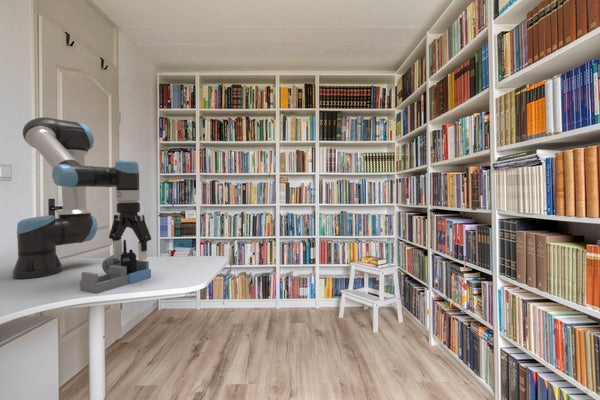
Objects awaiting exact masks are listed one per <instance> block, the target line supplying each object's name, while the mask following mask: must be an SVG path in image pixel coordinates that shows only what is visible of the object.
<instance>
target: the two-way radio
mask: <svg viewBox="0 0 600 400" xmlns="http://www.w3.org/2000/svg"><path fill="white" fill-rule="evenodd" d="M122 252H123V254H121V266H125V267H127V275H129V274H130V273H134V272H137V260H138V259H137V254H136V253H135V252H134V251H133V249H129V250H128V251H127V240H126V239H123V240H122ZM127 252H128V253H127Z"/></svg>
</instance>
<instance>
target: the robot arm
mask: <svg viewBox="0 0 600 400" xmlns="http://www.w3.org/2000/svg"><path fill="white" fill-rule="evenodd" d="M22 137H23V140H24V141H25V142H26V143H27V144H28V145H29V146H30V147H31V148H33V149H36V151H37V152H38V153H39V154H40V155H41V156H42V157H43V158H44V160H45V161H46V162H47V164H48V165H50V167H51V168H52V172H51V177H52V179H53V181H52V182H53V183H54V184H55V185H56V186H58V187H61V203H62V204H61V205H62V210H60V212H59V213H58V218H56V217H55V215H51V214H50V215H44V216H35V217H29V218H25V219H21V220H19V221H18V222H17V224H16V225H17V227H16V237H17V260H16V262H15V265H14V268H13V271H12V278H13V279H15V278H16V279H17V280H19V279H20V280H23V279H24V280H26V279H36V278H43V277H47V276H53V275H56V274H58V273H61V272H62V271H63V266H62V263H61V261H60V259H59V257H58V255H57V246H65V245H73V244H81V243H85V242H90V241H92V240H93V239H94V238H95V236H96V234H97V232H98V221H97V218H96V217H95V216H93V215H92V212H91V211H90V210H88V208H87V189H86V188H87V187H89V188H90V187H91V188H92V187H93V188H95V187H96V188H98V187H99V188H100V187H101V188H115V190H116V202H117V203H116V213H117V214H114V215H113V222H112V224H111V225H112V226H111V228H110V233H109V235H108V238H109V239H110V240H112V242H113V255H114V258H119V257H121V254H122V252H123V239H122V237H123V235H124V233H125V231H126V230H127V228H130V229H132V231H133V233H134V234H135V236H136V238H137V240H138V244H137V248H138V249H137V250H138V260H139V261H147V260H148V259H147V258H148V257H147V256H148V255H147V251H148V242H149V241H152V236H151V234H150V231H149V228H148V226H147V223H146V219H145V214H144V215H143V214H140V215H139V214H138V213H140V211H141V203H140V202H139V201H141V199H140V198H141V197H140V196H141V195H140V192H141V191H140V169H139V163H138V162H137V161H136V160H133V159H132V160H131V159H130V160H129V159H119V160H116V161H115V163H114V165H115V166H114V167H111V166H110V167H109V166H93V165H86V164H85V156H86V155H88V154H89V151H90V150H91V149H92V148H93V146H94V141H95V140H94V134H93V132H92V130H91V128H90V127H89V126H88V125H87V124H85V123H81V122H78V121H70V120H66V119H57V118H51V117H46V116H45V117H42V116H41V117H36V118H32V119H31V120H29V121H28V122H27V123H26V124H25V125H24V126H23V129H22Z"/></svg>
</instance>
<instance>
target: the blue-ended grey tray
mask: <svg viewBox="0 0 600 400" xmlns="http://www.w3.org/2000/svg"><path fill="white" fill-rule="evenodd" d="M136 260H137V272H134V273H130V274H129V275H127V267H125V266H118V265H112V266H108V268H109V274H106V273H105V274H103V275H98V273H94V272H89V271H83V272H81V280H80V281H79V288H80V291H85V292H90V293H94V294H99V293H103V292H106V291H109V290H113V289H116V288H119V287H122V286H125V285H129V284H134V283H138V282H140V281H144V280H147V279H150V278H151V277H152V273H151V272H152V269H151V268H150V267H149V266H150V261H149V260H142V261H139V259H136Z"/></svg>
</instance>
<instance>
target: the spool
mask: <svg viewBox="0 0 600 400" xmlns="http://www.w3.org/2000/svg"><path fill="white" fill-rule="evenodd" d="M127 253H129V251H127ZM122 254H123V251H122ZM101 263H102V264H101V267H102V270H103V272H104V273H105V275H106V274H109V268H108V266H112V265H118V266H121V257H119V258H114V254H113V255H109V256H108V257H106V258H105V259H104V260H102V262H101Z"/></svg>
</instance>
